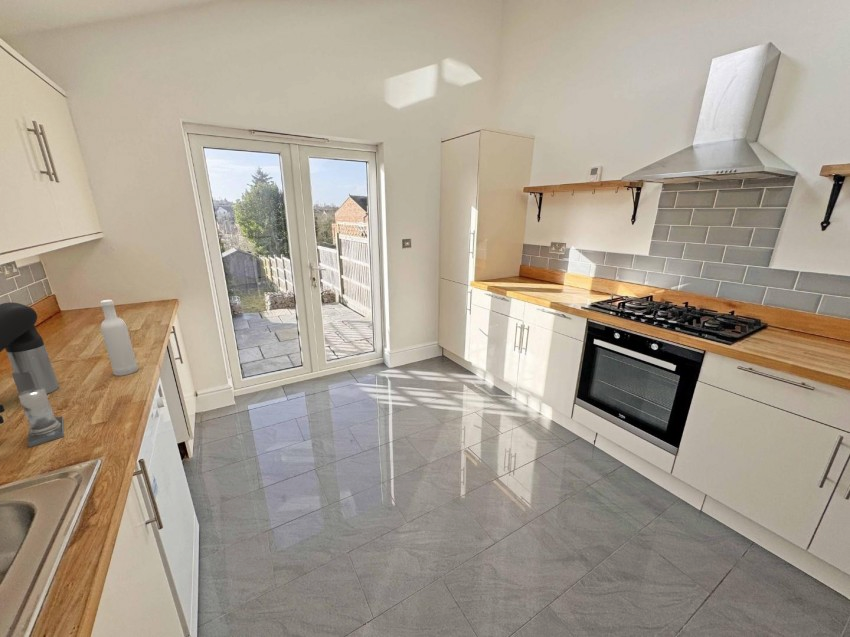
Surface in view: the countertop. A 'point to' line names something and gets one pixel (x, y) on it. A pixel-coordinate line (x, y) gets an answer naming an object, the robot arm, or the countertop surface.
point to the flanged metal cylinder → (38, 411)
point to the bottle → (117, 341)
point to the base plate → (47, 434)
